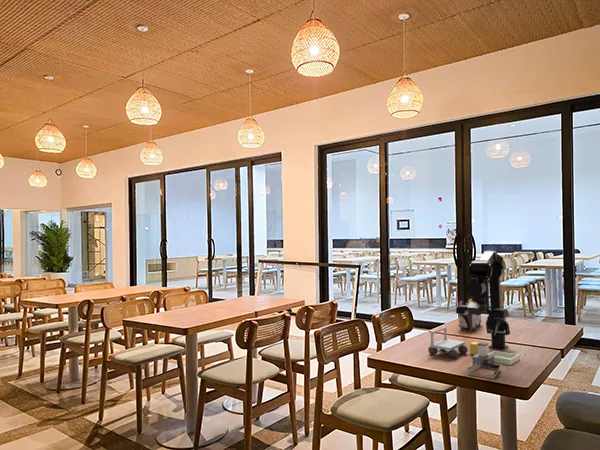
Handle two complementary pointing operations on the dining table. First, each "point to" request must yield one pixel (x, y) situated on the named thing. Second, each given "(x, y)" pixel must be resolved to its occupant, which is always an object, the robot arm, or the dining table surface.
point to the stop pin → (483, 349)
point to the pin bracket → (483, 359)
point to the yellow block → (474, 348)
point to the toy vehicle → (475, 319)
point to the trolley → (447, 345)
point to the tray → (504, 357)
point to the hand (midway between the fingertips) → (482, 333)
